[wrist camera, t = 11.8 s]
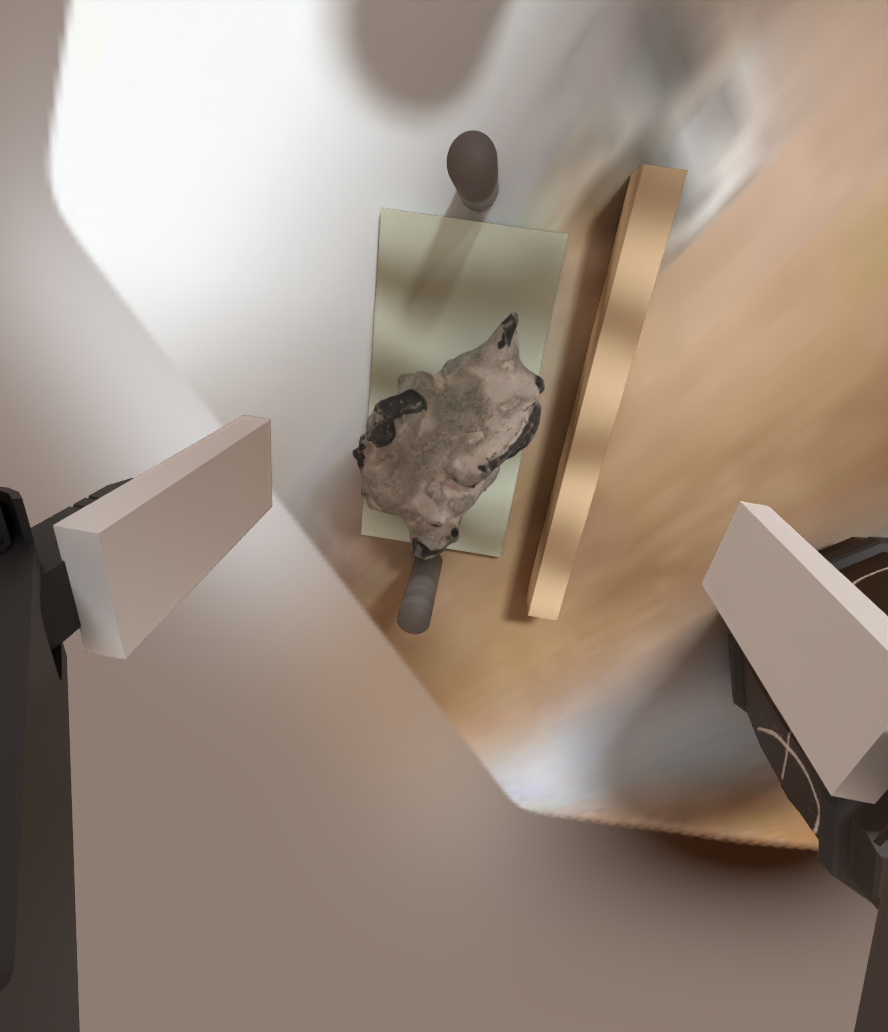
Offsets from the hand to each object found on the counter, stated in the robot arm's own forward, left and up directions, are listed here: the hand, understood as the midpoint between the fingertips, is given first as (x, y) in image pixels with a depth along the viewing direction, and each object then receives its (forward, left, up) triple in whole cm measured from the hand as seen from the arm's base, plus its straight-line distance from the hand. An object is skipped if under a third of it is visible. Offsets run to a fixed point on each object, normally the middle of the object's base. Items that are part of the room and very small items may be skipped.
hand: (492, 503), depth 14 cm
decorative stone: (+3, -3, -18) cm, 18 cm away
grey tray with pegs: (+2, 0, -18) cm, 18 cm away
